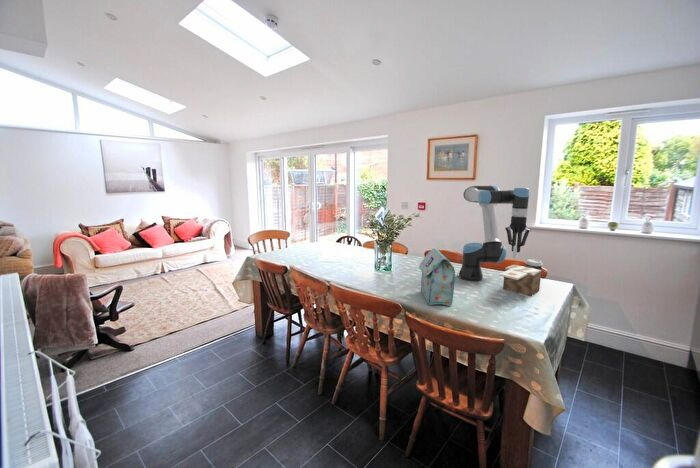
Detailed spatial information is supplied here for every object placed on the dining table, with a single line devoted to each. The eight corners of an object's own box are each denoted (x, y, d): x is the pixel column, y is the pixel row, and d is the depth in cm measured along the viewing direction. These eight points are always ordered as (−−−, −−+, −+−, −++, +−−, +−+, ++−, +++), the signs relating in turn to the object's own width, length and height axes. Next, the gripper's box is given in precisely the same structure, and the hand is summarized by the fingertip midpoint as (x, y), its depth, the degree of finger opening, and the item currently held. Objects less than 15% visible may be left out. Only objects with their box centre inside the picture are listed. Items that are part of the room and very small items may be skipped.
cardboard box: (502, 288, 193) (504, 268, 191) (511, 284, 201) (513, 264, 199) (531, 296, 181) (533, 274, 179) (539, 291, 189) (541, 270, 187)
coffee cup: (543, 286, 196) (545, 263, 194) (526, 285, 198) (528, 262, 196) (537, 281, 206) (539, 259, 203) (521, 280, 208) (523, 258, 205)
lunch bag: (417, 291, 190) (418, 247, 185) (444, 291, 190) (447, 247, 185) (424, 306, 167) (426, 257, 163) (456, 307, 167) (459, 257, 162)
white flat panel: (499, 275, 180) (499, 273, 180) (509, 271, 188) (509, 269, 188) (517, 279, 173) (517, 277, 172) (527, 275, 181) (527, 273, 181)
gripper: (503, 215, 177) (500, 256, 181) (529, 217, 167) (524, 261, 171) (509, 214, 182) (506, 254, 186) (534, 216, 172) (530, 258, 176)
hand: (515, 257), depth 179 cm, fingers closed
